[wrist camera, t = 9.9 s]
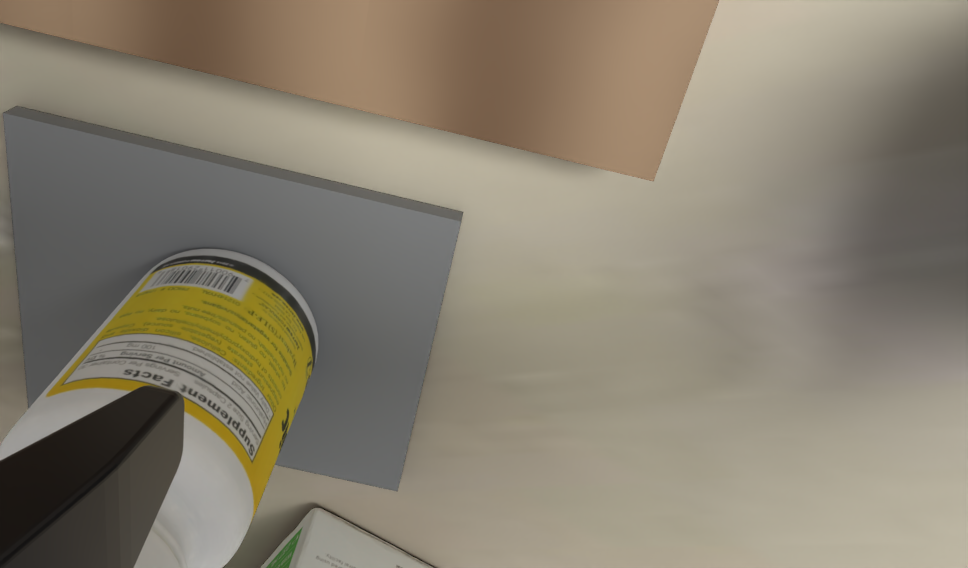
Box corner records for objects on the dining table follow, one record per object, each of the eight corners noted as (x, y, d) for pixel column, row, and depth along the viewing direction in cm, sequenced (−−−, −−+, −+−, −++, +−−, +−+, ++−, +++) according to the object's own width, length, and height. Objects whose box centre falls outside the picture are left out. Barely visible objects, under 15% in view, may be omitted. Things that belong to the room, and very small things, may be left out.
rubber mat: (463, 212, 21) (461, 221, 21) (400, 478, 26) (397, 491, 26) (16, 105, 21) (3, 113, 20) (39, 399, 26) (28, 410, 25)
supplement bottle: (236, 426, 25) (75, 736, 16) (101, 306, 23) (-163, 587, 14) (362, 344, 23) (255, 647, 14) (227, 205, 21) (9, 460, 12)
